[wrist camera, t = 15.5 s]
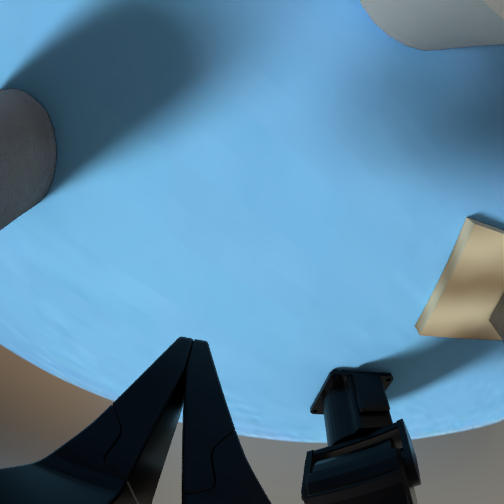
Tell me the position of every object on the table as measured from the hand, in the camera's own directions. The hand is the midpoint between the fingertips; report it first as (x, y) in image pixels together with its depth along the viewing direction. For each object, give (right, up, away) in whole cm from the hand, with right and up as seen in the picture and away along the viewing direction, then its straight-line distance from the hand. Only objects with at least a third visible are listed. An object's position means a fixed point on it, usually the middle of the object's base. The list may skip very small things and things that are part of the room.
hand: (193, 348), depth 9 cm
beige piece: (+26, -1, +13) cm, 29 cm away
